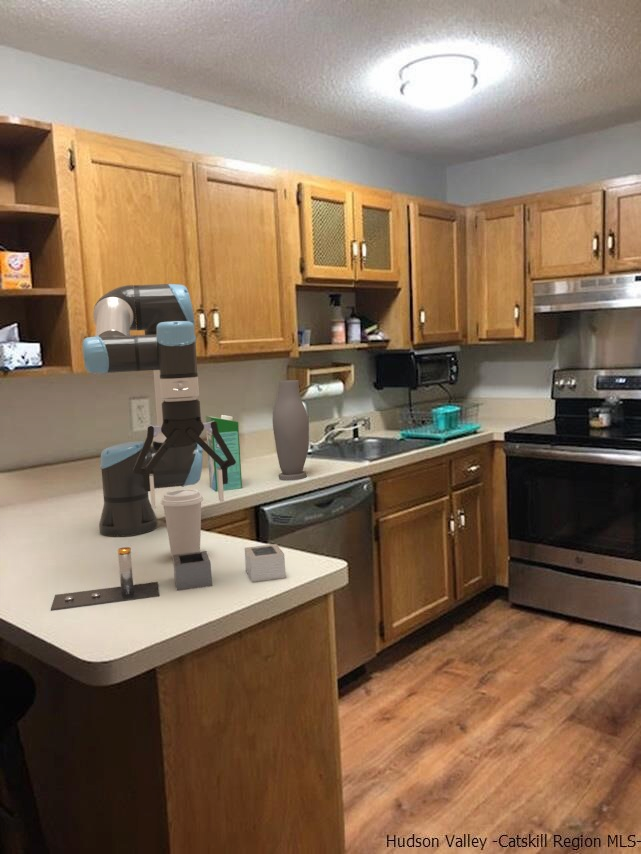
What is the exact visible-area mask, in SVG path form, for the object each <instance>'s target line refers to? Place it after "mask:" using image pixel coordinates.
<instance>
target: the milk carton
mask: <svg viewBox="0 0 641 854" xmlns="http://www.w3.org/2000/svg"><path fill="white" fill-rule="evenodd" d="M233 417H234V416H230V415H224V414H221V416H220V417H218V416H211V415H205V423H208V422H211V421H215V422H216V423H217V426H218V432H219V434H220V435H221V437H222V439H223V440H224V442H225V444H226V445H227V447H228V449H229V451H230V452H231V454H232V456H233V457H234V459H235V461H236V463H235V465H231V466H229V467H228V469H227V474H228V483H227V484H223V491H229V490H238V489H243V479H242V465H241V462H242V461H241V449H240V432H239V431H240V429H239V422H238V421H237V420H234V419H233ZM205 430H206V441H207V443H206V444H207V445H208V446H209V447H210V448H211V449H212V450H213V451H214V452H215V453H216V454H217V455H218V456H219V457H220V458H221V459H222V460H223V461H226V460H227V458H226V457H225V455H224V453H223V451H222V450H221V448H220V446H219V445H218V443H217V441H216V440H215V438H214V436H213V434H212V433H210V432H208V430H207V429H205ZM207 459H208V460H207V461H208V472H209V487H210V488H211V489H212V490H214V491H215V492H218V481H217V468H220V465H219V464H218V463H217V462H216V461H215V460H214V459H213V458H212V457H211V456H210V455H209V454H208V453H207Z"/></svg>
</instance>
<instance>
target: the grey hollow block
mask: <svg viewBox="0 0 641 854" xmlns="http://www.w3.org/2000/svg"><path fill="white" fill-rule="evenodd" d="M172 559H173V560H172V561H173V562H172V563H173V577H174V583H175V587H176V588H175V589H176V591H183V590H189V589H190V590H191V588H192V589H197V588H198V587H199V588H206V586H207V587H212V586H213V581H212V564H211V560H210V557H209V554H208V552H207V550H203V551H200V552H194V553H185V554H177V555H173V558H172Z"/></svg>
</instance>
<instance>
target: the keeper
mask: <svg viewBox="0 0 641 854" xmlns="http://www.w3.org/2000/svg"><path fill="white" fill-rule="evenodd" d="M117 553H118V554H117V556H118V557H117V558H118V568H119V578H120V579H119V580H120V586H114V587H105V588H97V589H89V590H82V591H76V592H75V591H74V592H68V593H67V592H66V593H58V594H54V598H53V601H52V604H51V606H50V611H58V610H65V609H72V608H81V607H86V606H87V607H88V606H94V605H95V606H96V605H103V604H110V603H118V602H125V601H133V600H142V599H148V598H155V597H160V590H159V582H158V581H155V582H152V581H151V582H145V583H144V582H143V583H136V584H134V580H133V579H134V578H133V577H134V576H133V575H134V574H133V567H132V566H133V564H132V551H131V547H128V546H126V547H120V548H118V549H117Z"/></svg>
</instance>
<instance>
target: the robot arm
mask: <svg viewBox="0 0 641 854" xmlns="http://www.w3.org/2000/svg"><path fill="white" fill-rule="evenodd" d="M92 318H93V322H94V324H95V326H96V327H95V333H94V334H95V335H94V336H90V337H85V338H84V339H83V341H82V355H83V365H84V368H85V371H86V372H87V373H89V374H103V375H106V374H112V373H126V372H128V373H131V372H146V371H147V372H149V371H153V384H154V396H155V409H156V422H157V423H156V425H152V424H149V425H148V426H147V430H146V438H145V441H143V440H136V441H128V442H123V443H122V442H121V443H118V444H115V445H112V446H109V447H107V448H104V449H103V450H102V451H101V453H100V466H99V467H100V470H101V480H102V491H103V492H102V495H103V506H102V507H103V508H102V511H101V515H100V519H99V522H98V523H99V524H98V528H99V534H100V535H102V536H106V537H128V536H129V537H130V536H136V535H141V534H145V533H148V532H149V533H150V532H152V531H154V530H156V529H157V527H158V518H157V515H156V513H155V511H154V509H156V507H157V506H156V496H155V495H156V494H155V493H156V492H155V490H156V489H163V488H164V489H166V488H175V487H176V488H177V487H182V488H183V487H186V486H194V485H197V484H198V483H199V482H200V480H201V476H202V472H203V456H204V455H203V451H204V452H206V454H207V455H208V454H209V455H210V456H211V457H212V458H213V459H214V460H215V461H216V462H217V463H218V464H219V465H220V468H217V481H218V491H217V492H218V500H219V502H220V503H221V502H225V497H224V490H223V484H227V483H228V474H227V469H228V467H229V466H231V465H235V463H236V461H235V459H234V457H233V456H232V454H231V452H230V451H229V449H228V447H227V445H226V444H225V442H224V440H223V439H222V437H221V435H220V434H219V432H218V426H217V423H216V422H215V421H211V422H208V423H206V422H203V421H202V417H201V403H200V400H199V399H197V398H198V397H199V396H200V388H199V375H198V362H197V359H198V357H197V336H196V330H195V328H196V322H195V313H194V309H193V304H192V300H191V296H190V292H189V290H188V288H187V287H186V285H184V284H177V283H176V284H174V283H167V284H165V283H164V284H163V283H161V284H137V285H136V284H135V285H134V284H129V285H121V286H118V287H116V288H114V289H112V290H111V289H110V290H109V291H108V292H107V293H105V294H103V295H102V296H101V297H99V299H98V300H97V301H96V303H95V304H94V307H93V312H92ZM131 331H143V332H144V334H142V335H141V334H139V335H138V334H136V335H135V334H134V335H133V334H132V335H131ZM204 429H205V430H206V429H207V430H208V432H210V433H212V434H213V436H214V438H215V440H216V441H217V443H218V445H219V446H220V448H221V450H222V451H223V453H224V455H225V457H226V458H227V460H226V461H223V460H222V459H221V458H220V457H219V456H218V455H217V454H216V453H215V452H214V451H213V450H212V449H211V448H210V447H209V446H208V445H207V443H206V442H205V441H204V440H203V439H202V438H201V437H200V436H201V434H202V433H203V431H204ZM207 430H206V431H207ZM149 492H150V498H149Z"/></svg>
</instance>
